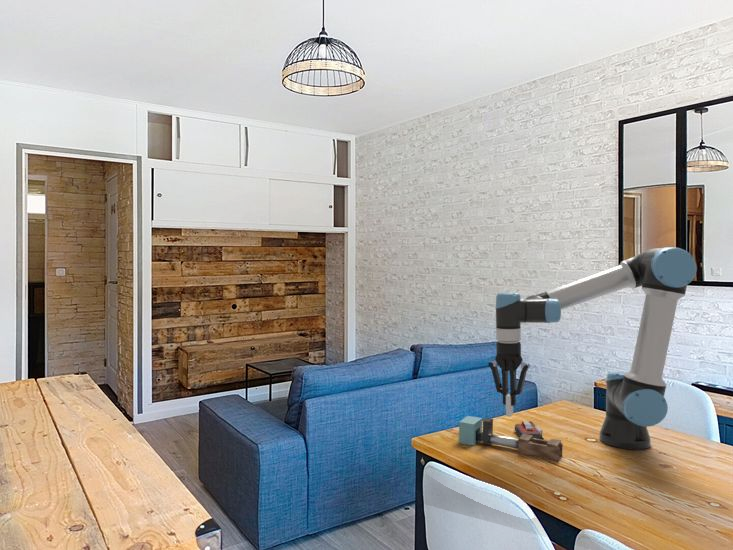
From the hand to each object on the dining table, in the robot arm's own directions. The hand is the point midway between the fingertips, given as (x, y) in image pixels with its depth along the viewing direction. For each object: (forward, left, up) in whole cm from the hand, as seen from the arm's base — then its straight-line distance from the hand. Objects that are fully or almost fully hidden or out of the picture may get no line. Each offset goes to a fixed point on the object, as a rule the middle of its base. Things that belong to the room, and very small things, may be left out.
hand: (509, 415), depth 169 cm
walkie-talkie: (-1, -18, -11) cm, 21 cm away
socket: (+13, 0, -11) cm, 17 cm away
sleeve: (-10, 0, -11) cm, 14 cm away
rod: (+3, 0, -10) cm, 10 cm away
